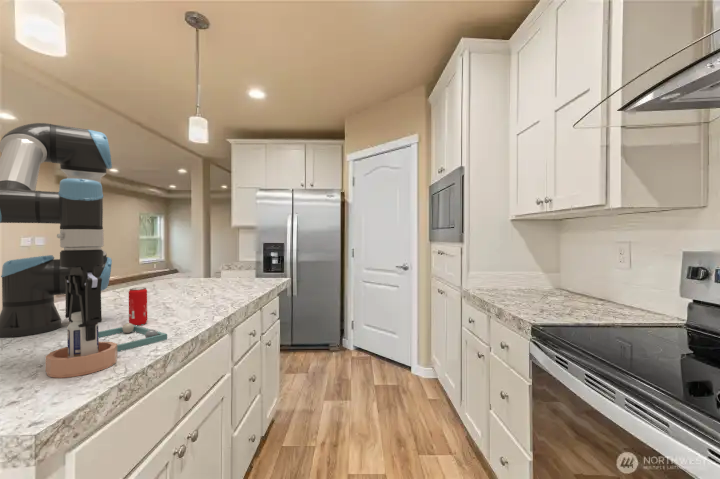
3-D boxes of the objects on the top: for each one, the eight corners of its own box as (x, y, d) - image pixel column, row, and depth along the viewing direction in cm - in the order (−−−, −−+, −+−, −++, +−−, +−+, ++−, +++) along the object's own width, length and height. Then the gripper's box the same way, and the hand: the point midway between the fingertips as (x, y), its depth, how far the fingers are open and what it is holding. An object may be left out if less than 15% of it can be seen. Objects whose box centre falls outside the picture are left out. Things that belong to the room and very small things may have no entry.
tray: (69, 342, 93) (69, 337, 93) (133, 329, 107) (133, 324, 107) (100, 356, 82) (100, 349, 82) (167, 339, 96) (167, 334, 96)
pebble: (120, 333, 102) (120, 323, 102) (131, 331, 105) (131, 321, 105) (124, 334, 101) (124, 324, 101) (136, 332, 103) (135, 322, 103)
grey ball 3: (143, 340, 95) (143, 330, 95) (154, 338, 97) (154, 327, 97) (148, 342, 93) (148, 331, 93) (159, 339, 96) (159, 329, 96)
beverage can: (130, 323, 115) (130, 288, 115) (148, 321, 117) (148, 287, 117) (127, 326, 110) (127, 290, 110) (146, 325, 112) (145, 289, 112)
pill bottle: (104, 352, 78) (104, 310, 78) (83, 360, 73) (83, 315, 73) (83, 351, 79) (83, 309, 78) (60, 359, 73) (60, 315, 73)
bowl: (38, 370, 74) (38, 352, 74) (103, 354, 84) (103, 338, 84) (58, 382, 67) (58, 363, 67) (126, 363, 77) (125, 347, 77)
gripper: (46, 248, 77) (47, 349, 77) (77, 250, 67) (78, 366, 67) (86, 247, 84) (87, 341, 84) (120, 248, 74) (121, 354, 74)
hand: (83, 352), depth 76 cm, fingers closed on pill bottle, 5 cm apart
